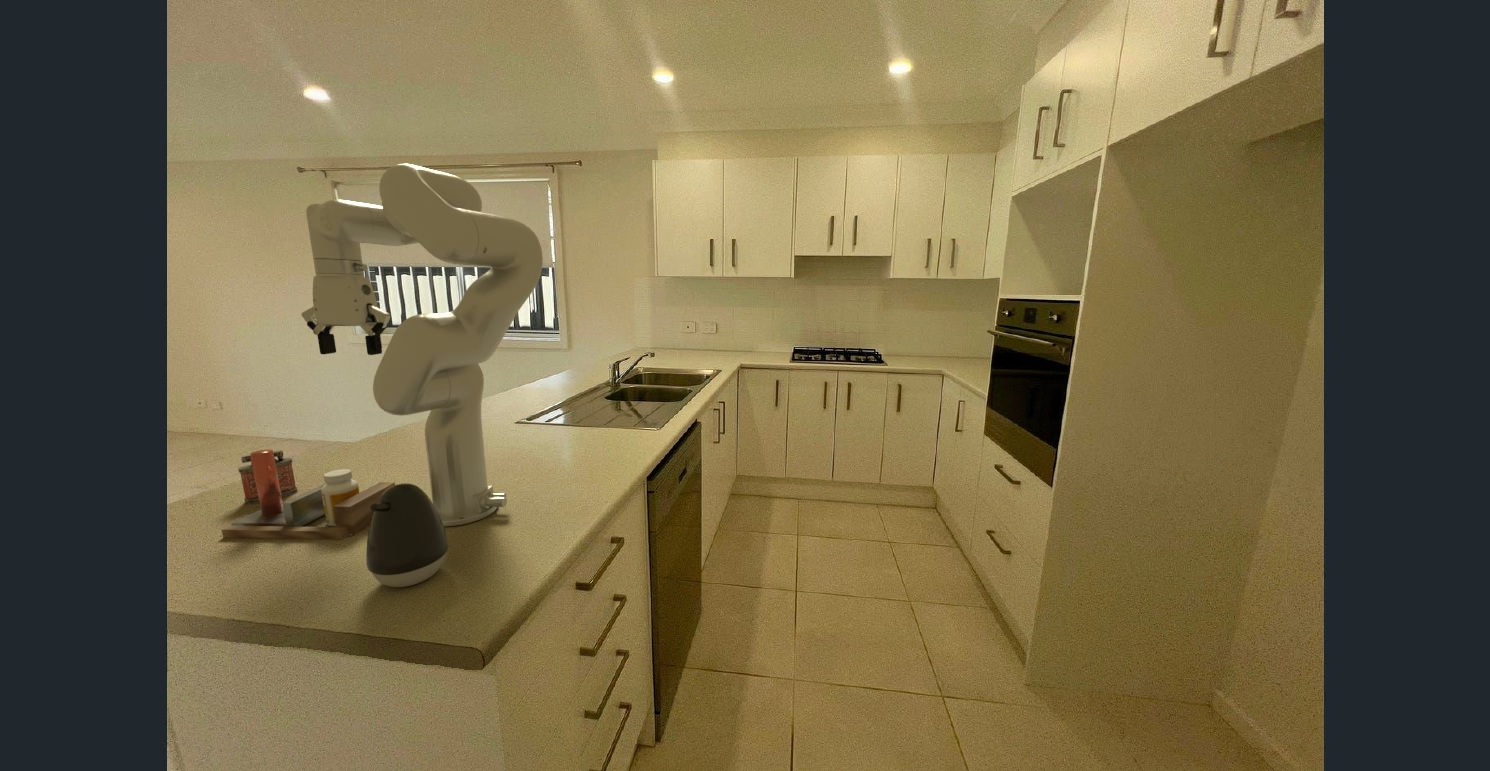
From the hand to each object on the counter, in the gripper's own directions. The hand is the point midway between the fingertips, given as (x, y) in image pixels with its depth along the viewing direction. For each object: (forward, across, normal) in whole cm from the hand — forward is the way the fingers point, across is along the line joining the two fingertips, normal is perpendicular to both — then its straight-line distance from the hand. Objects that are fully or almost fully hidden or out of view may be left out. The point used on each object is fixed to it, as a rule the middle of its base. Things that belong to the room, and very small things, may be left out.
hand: (351, 353), depth 99 cm
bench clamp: (+30, -2, +14) cm, 33 cm away
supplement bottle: (+31, -6, +14) cm, 34 cm away
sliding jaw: (+30, +5, +14) cm, 34 cm away
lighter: (+31, +18, +4) cm, 36 cm away
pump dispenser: (+31, -31, +32) cm, 54 cm away
